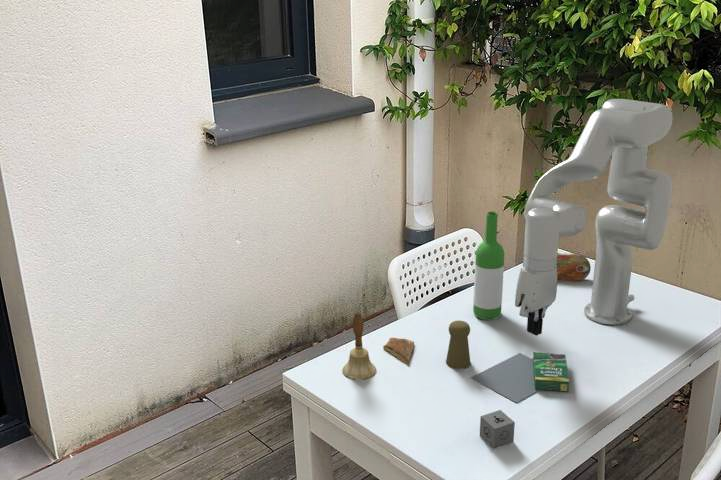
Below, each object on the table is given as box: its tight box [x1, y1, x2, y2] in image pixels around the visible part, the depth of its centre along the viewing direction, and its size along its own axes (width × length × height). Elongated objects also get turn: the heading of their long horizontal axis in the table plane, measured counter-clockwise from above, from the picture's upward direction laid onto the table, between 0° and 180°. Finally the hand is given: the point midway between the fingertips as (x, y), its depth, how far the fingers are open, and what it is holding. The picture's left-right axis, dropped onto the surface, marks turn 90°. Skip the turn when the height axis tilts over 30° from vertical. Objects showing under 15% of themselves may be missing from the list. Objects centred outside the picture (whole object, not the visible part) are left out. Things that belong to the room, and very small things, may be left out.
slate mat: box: [470, 352, 541, 404], centre depth 182 cm, size 18×14×1 cm
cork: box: [445, 320, 471, 370], centre depth 186 cm, size 6×6×11 cm
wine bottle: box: [472, 211, 505, 320], centre depth 207 cm, size 8×8×30 cm
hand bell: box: [341, 311, 377, 380], centre depth 183 cm, size 8×8×16 cm
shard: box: [382, 337, 415, 365], centre depth 193 cm, size 11×8×2 cm
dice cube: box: [479, 409, 516, 450], centre depth 158 cm, size 5×5×5 cm
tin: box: [556, 252, 591, 282], centre depth 233 cm, size 15×3×8 cm, turn 81°
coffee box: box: [532, 351, 570, 392], centre depth 181 cm, size 8×3×13 cm
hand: (534, 332), depth 181 cm, fingers closed
